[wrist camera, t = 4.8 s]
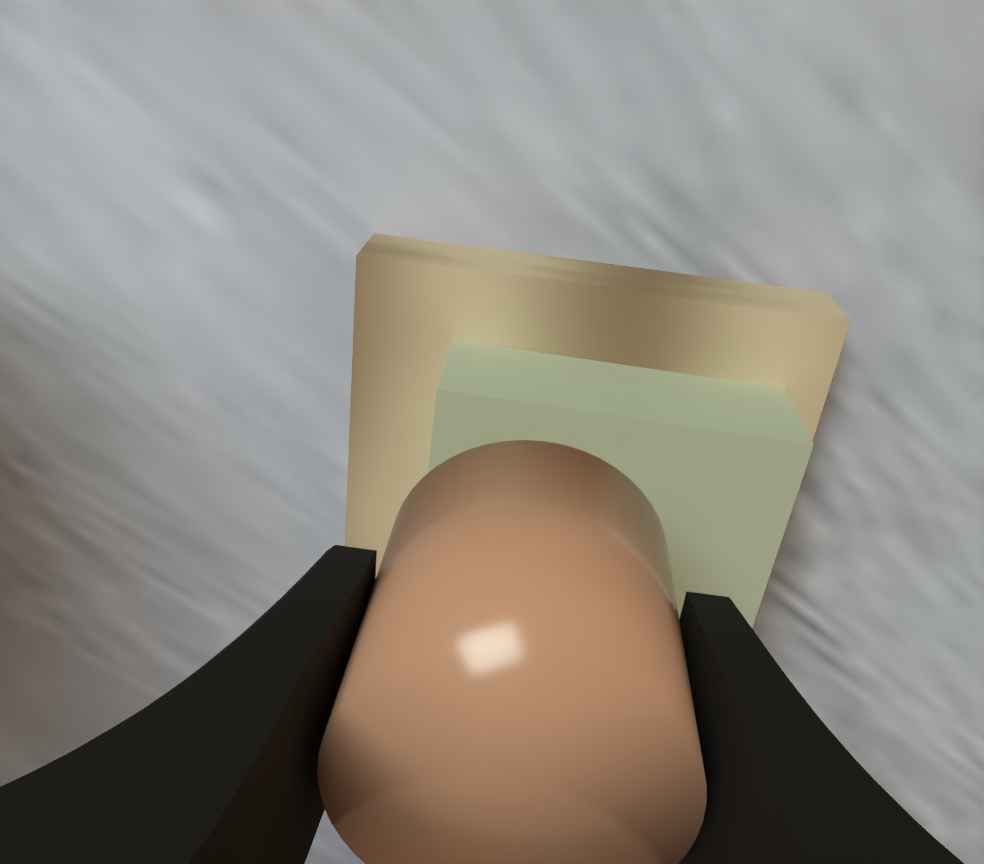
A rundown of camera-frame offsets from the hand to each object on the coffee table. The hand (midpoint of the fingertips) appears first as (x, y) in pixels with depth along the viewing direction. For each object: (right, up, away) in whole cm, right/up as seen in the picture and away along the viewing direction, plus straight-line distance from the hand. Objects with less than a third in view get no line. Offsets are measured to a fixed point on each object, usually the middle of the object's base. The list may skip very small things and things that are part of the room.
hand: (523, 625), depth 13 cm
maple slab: (+1, +2, +9) cm, 10 cm away
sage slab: (+2, +1, +7) cm, 8 cm away
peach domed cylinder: (0, +1, +1) cm, 1 cm away
